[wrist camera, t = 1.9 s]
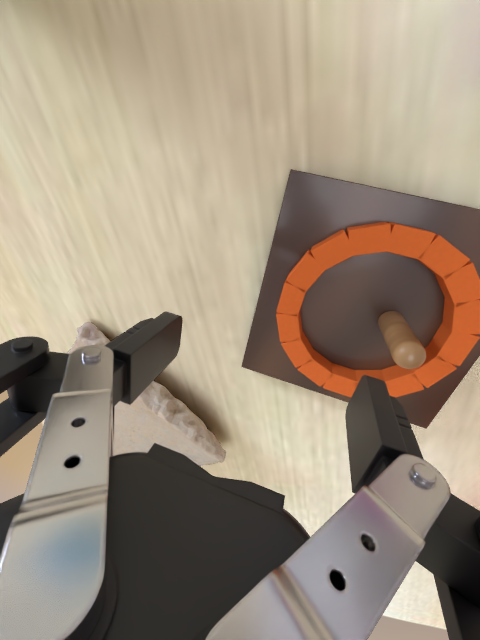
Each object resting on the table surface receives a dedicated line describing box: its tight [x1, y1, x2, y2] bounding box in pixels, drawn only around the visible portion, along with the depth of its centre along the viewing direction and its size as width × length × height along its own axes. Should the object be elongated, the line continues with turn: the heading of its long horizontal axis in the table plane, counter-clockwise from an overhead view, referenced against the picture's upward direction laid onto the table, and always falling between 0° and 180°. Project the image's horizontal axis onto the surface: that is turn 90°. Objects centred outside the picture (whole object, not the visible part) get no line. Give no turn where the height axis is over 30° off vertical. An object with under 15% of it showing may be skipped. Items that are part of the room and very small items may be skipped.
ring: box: [276, 222, 480, 398], centre depth 23 cm, size 15×15×2 cm
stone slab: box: [67, 322, 226, 466], centre depth 35 cm, size 24×8×20 cm
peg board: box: [242, 169, 480, 428], centre depth 21 cm, size 19×19×8 cm
